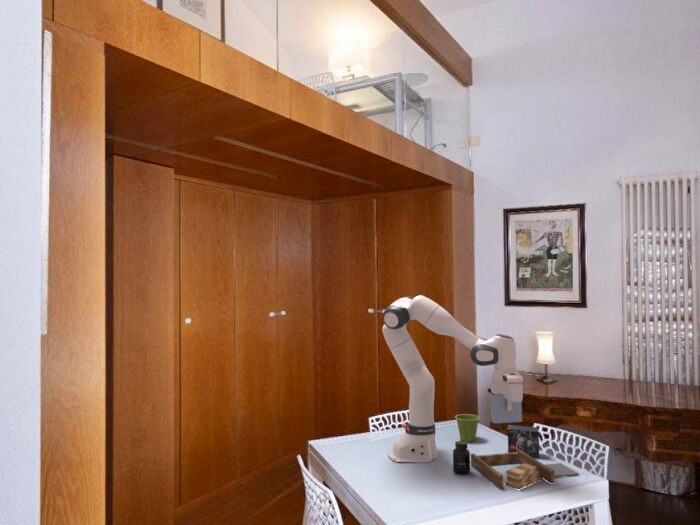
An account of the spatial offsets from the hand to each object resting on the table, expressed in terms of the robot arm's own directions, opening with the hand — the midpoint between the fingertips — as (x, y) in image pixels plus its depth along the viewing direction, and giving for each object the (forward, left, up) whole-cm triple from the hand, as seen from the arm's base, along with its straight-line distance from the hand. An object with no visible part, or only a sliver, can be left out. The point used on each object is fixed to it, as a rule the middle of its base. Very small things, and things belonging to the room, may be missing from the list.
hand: (506, 408), depth 203 cm
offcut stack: (0, -11, -26) cm, 28 cm away
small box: (+17, +18, -26) cm, 36 cm away
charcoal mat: (+20, -3, -26) cm, 32 cm away
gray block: (0, 0, -5) cm, 5 cm away
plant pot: (+2, +44, -26) cm, 51 cm away
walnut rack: (0, -2, -26) cm, 26 cm away
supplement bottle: (-18, +5, -26) cm, 32 cm away
